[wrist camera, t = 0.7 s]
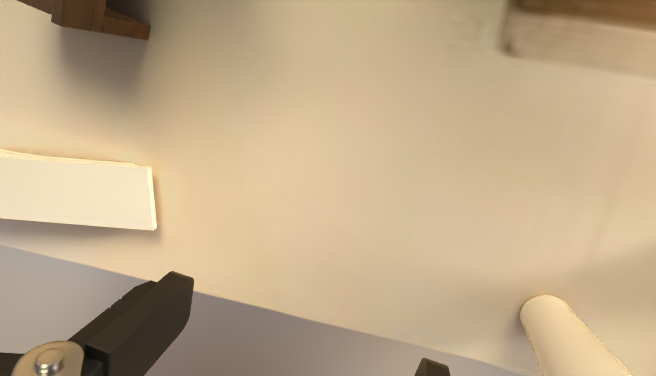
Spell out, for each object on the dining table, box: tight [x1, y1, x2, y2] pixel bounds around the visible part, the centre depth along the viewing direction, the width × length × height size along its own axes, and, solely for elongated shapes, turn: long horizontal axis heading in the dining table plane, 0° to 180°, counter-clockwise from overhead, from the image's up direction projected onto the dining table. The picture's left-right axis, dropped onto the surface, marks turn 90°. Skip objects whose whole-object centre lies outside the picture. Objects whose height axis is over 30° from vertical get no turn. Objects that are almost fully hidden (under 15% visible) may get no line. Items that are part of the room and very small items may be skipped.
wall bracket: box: [0, 149, 157, 231], centre depth 47 cm, size 10×7×28 cm
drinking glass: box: [520, 295, 633, 376], centre depth 33 cm, size 7×7×15 cm
